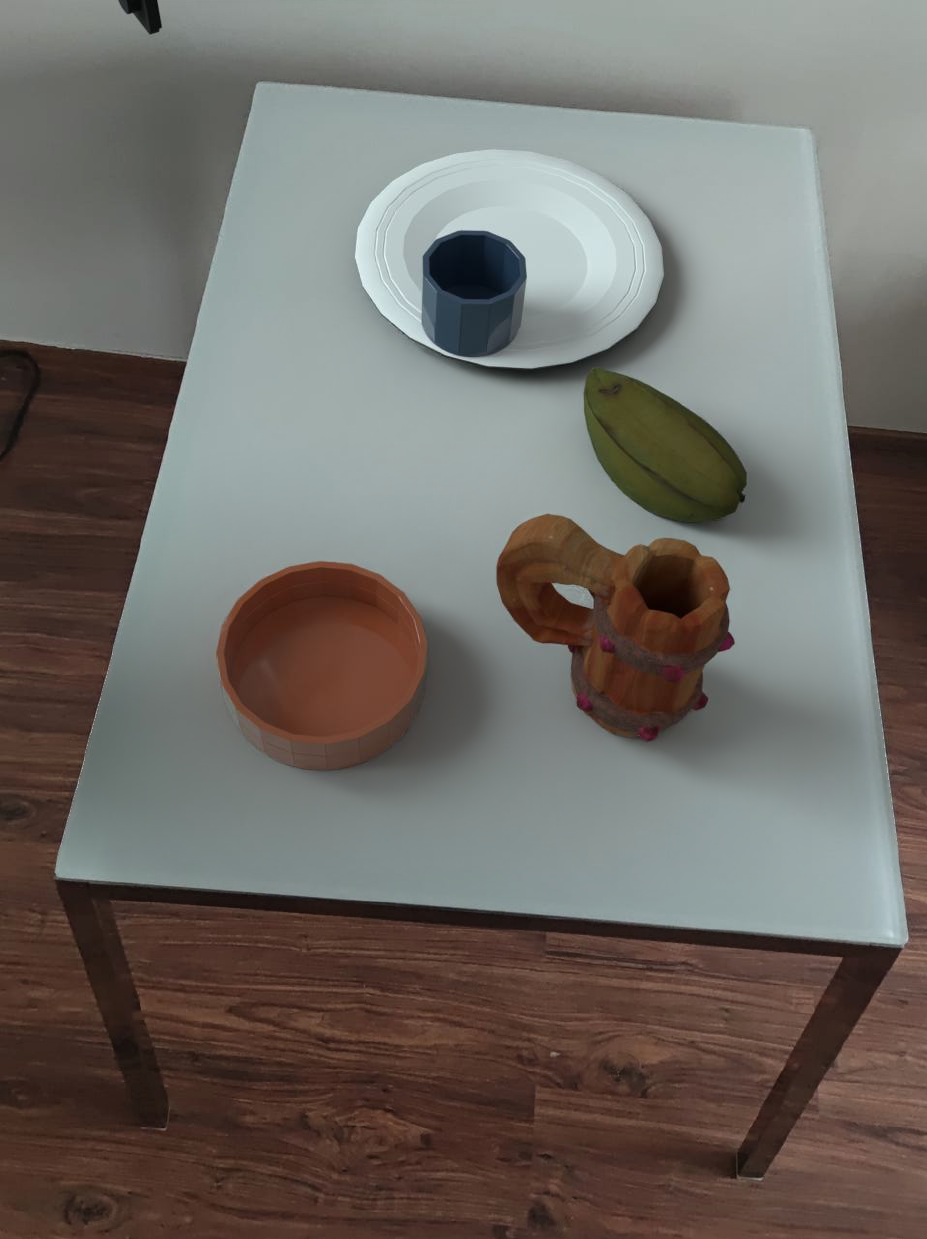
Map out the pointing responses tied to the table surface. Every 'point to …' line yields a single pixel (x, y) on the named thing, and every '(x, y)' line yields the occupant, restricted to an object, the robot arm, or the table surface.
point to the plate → (540, 229)
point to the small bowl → (472, 292)
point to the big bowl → (323, 665)
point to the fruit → (661, 450)
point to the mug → (620, 620)
